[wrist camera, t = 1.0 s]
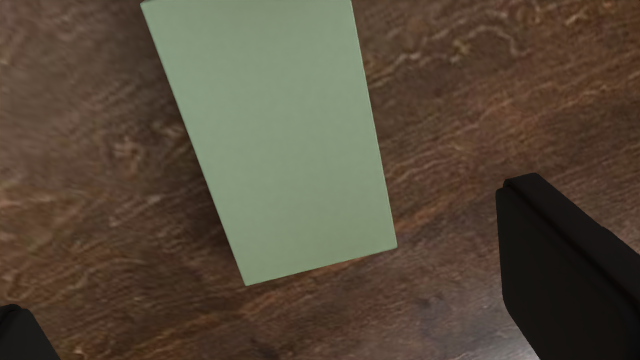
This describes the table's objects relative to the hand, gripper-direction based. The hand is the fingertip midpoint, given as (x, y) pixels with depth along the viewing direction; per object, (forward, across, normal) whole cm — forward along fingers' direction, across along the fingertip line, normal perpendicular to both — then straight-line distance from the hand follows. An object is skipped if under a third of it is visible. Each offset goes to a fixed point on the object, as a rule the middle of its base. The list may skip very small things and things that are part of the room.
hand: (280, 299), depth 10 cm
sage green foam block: (+14, 0, +1) cm, 14 cm away
